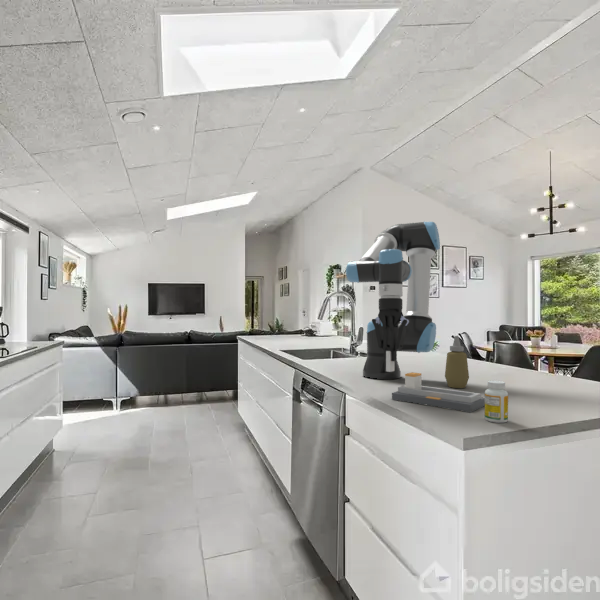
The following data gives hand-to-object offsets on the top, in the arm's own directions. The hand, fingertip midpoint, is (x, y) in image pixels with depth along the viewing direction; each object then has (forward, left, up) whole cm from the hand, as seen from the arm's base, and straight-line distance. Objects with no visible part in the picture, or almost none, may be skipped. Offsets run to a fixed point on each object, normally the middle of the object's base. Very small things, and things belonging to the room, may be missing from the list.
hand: (390, 371), depth 141 cm
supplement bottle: (+36, -10, -8) cm, 38 cm away
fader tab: (+8, 0, -5) cm, 10 cm away
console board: (+16, 0, -8) cm, 18 cm away
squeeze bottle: (+10, +28, -8) cm, 31 cm away
